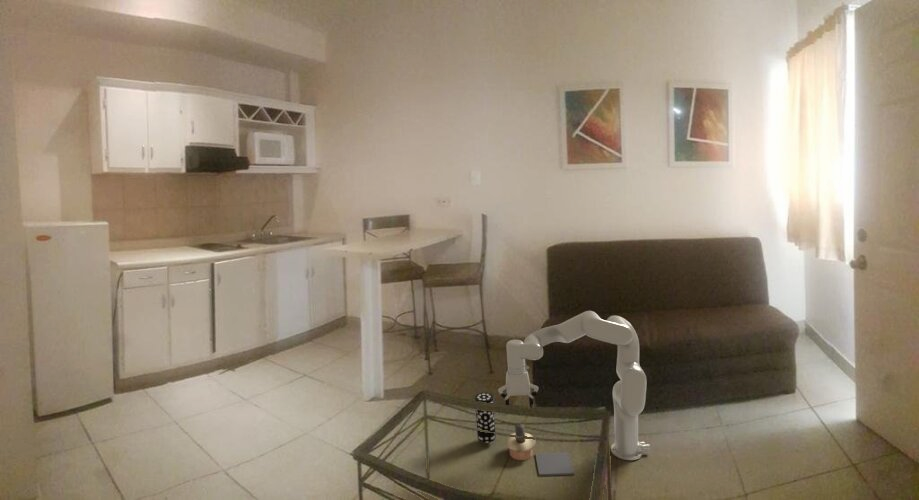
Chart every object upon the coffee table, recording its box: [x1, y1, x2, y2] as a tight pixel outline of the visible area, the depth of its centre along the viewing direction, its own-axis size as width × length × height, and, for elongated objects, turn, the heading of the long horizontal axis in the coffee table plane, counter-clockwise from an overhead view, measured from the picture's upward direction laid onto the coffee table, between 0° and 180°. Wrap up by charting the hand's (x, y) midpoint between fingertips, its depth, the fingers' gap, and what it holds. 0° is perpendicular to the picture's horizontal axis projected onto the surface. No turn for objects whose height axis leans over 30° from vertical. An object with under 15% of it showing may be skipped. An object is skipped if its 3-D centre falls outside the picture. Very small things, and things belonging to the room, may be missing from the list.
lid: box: [505, 422, 537, 452], centre depth 195 cm, size 13×13×8 cm
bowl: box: [508, 448, 534, 461], centre depth 196 cm, size 10×10×5 cm
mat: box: [534, 451, 575, 477], centre depth 187 cm, size 14×14×1 cm
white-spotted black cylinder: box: [474, 392, 497, 444], centre depth 203 cm, size 8×8×20 cm
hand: (519, 406), depth 193 cm, fingers open, 9 cm apart
